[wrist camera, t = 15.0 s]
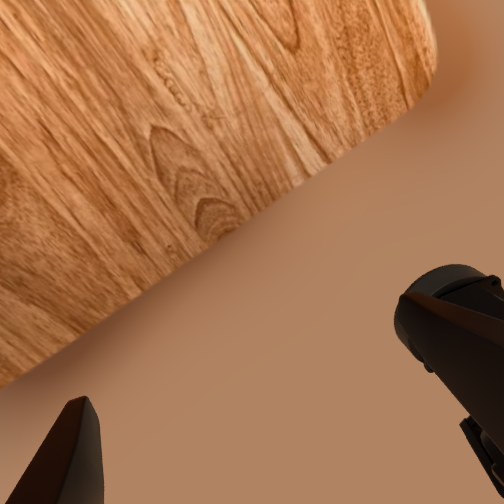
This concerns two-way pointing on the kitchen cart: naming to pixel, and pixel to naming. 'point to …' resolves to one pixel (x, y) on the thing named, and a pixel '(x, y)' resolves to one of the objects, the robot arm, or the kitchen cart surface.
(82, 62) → the kitchen cart surface
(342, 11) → the kitchen cart surface
